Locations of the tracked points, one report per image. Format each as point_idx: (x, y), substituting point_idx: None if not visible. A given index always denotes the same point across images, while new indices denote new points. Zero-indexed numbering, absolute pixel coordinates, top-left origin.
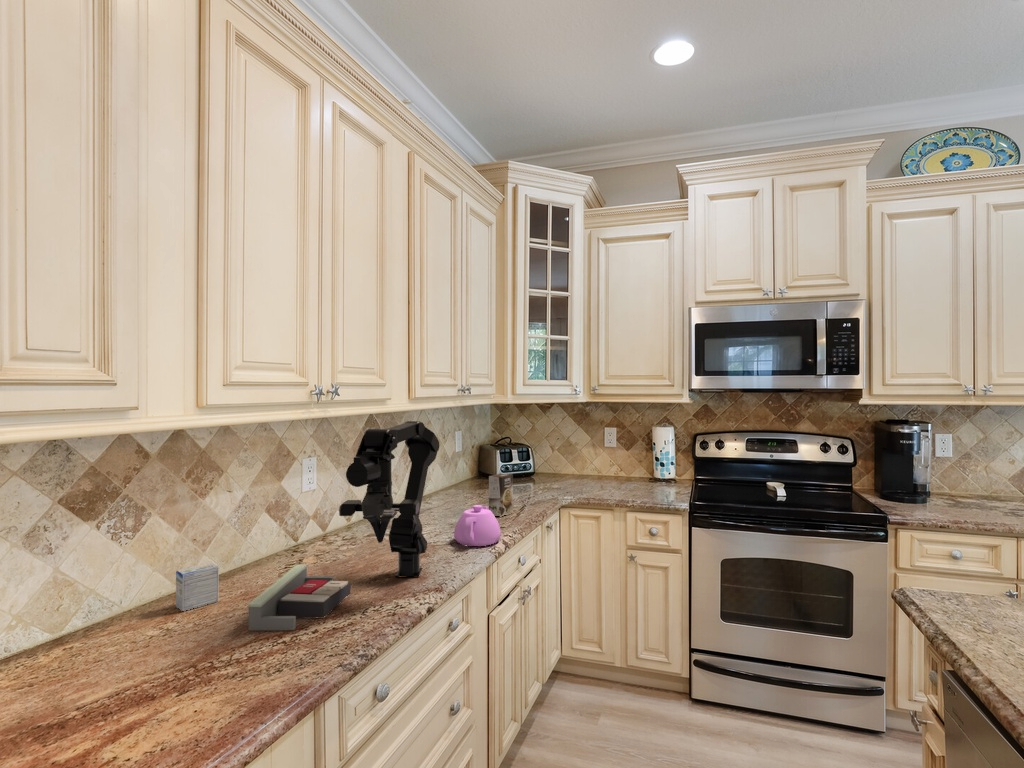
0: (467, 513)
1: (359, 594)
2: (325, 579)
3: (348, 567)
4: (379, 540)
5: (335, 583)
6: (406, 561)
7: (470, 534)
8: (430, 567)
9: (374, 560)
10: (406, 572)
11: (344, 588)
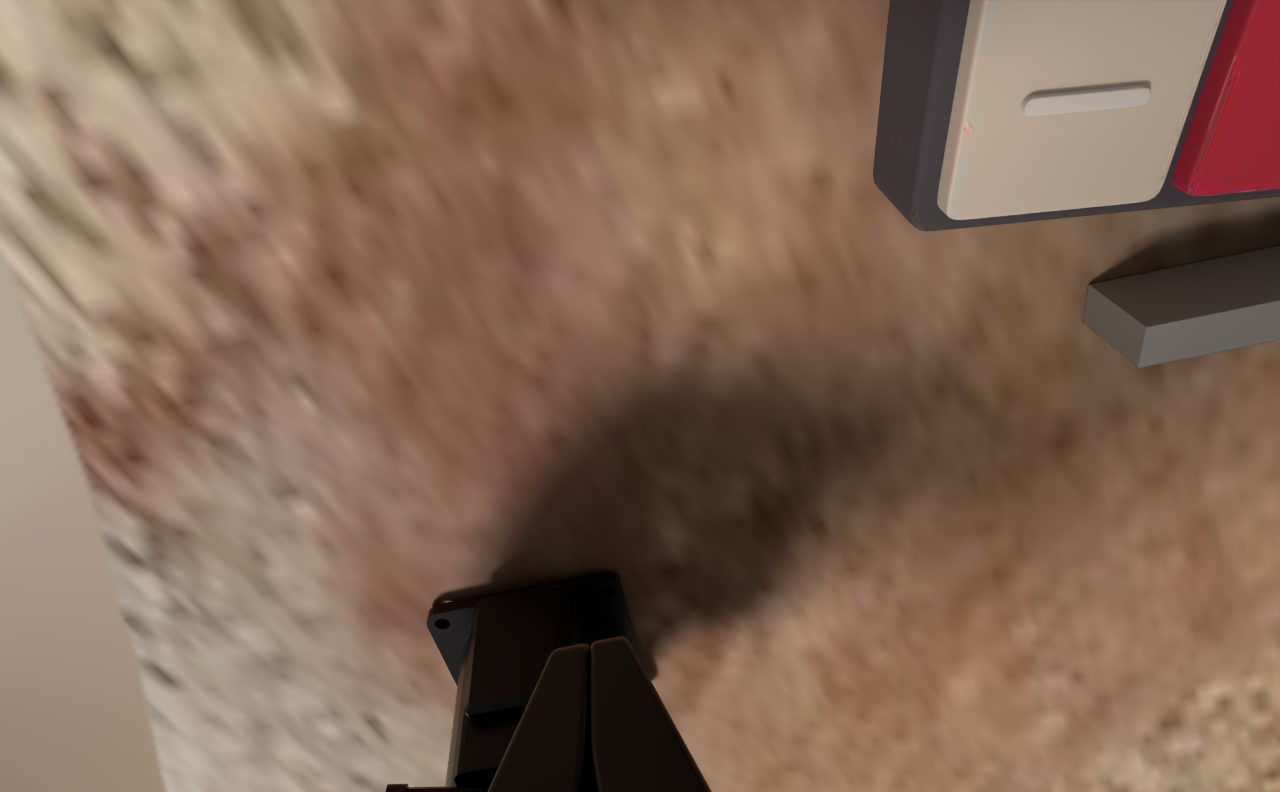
0: None
1: (776, 180)
2: (1204, 305)
3: (1047, 651)
4: (592, 672)
5: (1082, 90)
6: (511, 695)
7: None
8: None
9: (897, 770)
10: (515, 612)
11: (935, 40)
